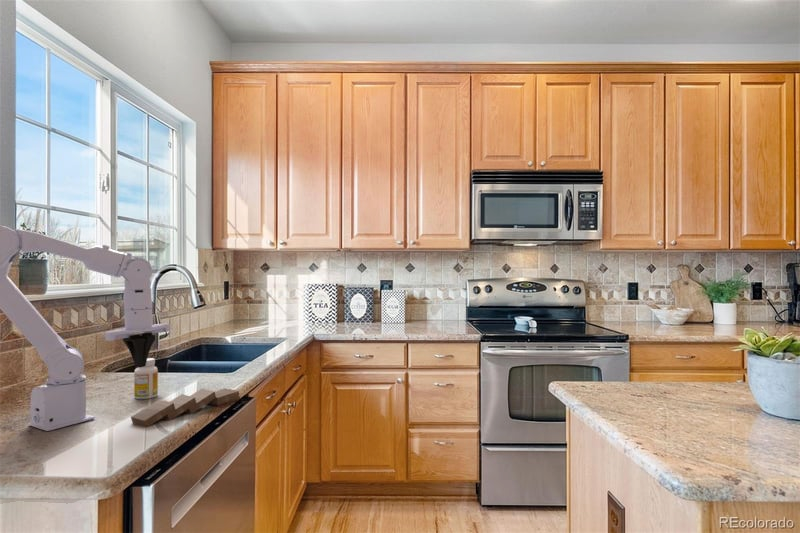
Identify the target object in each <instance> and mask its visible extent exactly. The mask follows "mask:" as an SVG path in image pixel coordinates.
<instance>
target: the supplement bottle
mask: <svg viewBox="0 0 800 533" xmlns="http://www.w3.org/2000/svg"><path fill="white" fill-rule="evenodd" d="M155 363H156V359H155V358H153V357H147V361H146V366H144V367H136V368H135V369H134V375H133V376H134V379H133V380H134V383H133V384H134V385H133V386H134V388H133V390H134V391H133V392H134V394H133V395H134V398H135V399H137V400H148V399H152V398H155V397H158V390H159V388H158V386H159V384H158V383H159V381H158V380H159V376H158V375H159V373H158V372H159V371H158V367H157V366H155V365H156V364H155Z"/></svg>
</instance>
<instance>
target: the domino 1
mask: <svg viewBox="0 0 800 533" xmlns="http://www.w3.org/2000/svg"><path fill="white" fill-rule="evenodd" d="M173 410H175V406H174V403H172V402H170V401H167V400H163V399H158V400H157V401H155V402H153V403H152V404H150V405H148V406H146V407H145V408H143V409H141V410H140V411H138V412H136V413H135V414H133V415H131V416H130V419H131V422H132V424H134V425H137V426H141V427H145V428H148V427H150V426H151V425H152V424H154V423H156V422H158V421H159V420H161V419H163V418H162V417H164V416H165V415H167V414H169V413H170V412H172V411H173Z"/></svg>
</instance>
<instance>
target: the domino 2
mask: <svg viewBox="0 0 800 533" xmlns="http://www.w3.org/2000/svg"><path fill="white" fill-rule="evenodd" d="M169 402H172V403H174V406H175V410H173V411H172V412H170V413H169V414H167V415H165V416H164V417H162V418H161V419H163V420H166V421H172V420H174V419H175V418H176V417H178V416H179V415H182V413H185V412H184V411H186V410H187V409H189V408H190V407H192V406H193V405H195V404H197V403H196V400H195V397H191V395H187V394H186V395H185V394H179V395H178V396H176V397H174V398H173V399H172V400H170V401H169Z"/></svg>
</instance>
